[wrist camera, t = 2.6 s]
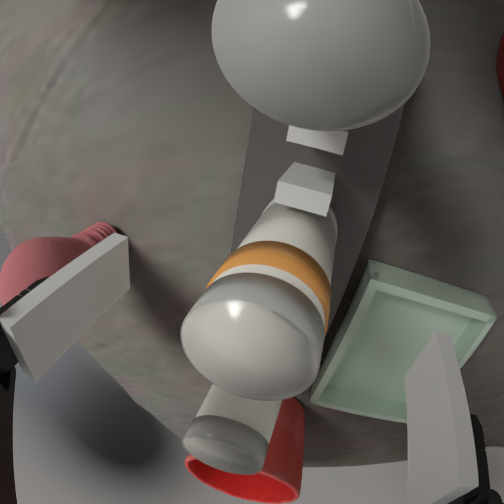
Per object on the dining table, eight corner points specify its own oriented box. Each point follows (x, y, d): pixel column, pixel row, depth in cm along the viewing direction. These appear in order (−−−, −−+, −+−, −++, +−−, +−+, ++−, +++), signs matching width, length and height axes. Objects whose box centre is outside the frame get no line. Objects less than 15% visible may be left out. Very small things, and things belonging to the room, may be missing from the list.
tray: (369, 258, 19) (370, 278, 17) (487, 296, 18) (497, 317, 16) (312, 381, 26) (308, 402, 24) (409, 403, 24) (410, 424, 22)
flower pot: (226, 422, 34) (196, 487, 25) (213, 364, 29) (170, 445, 20) (312, 438, 31) (294, 510, 22) (324, 383, 26) (304, 478, 17)
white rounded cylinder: (301, 30, 13) (231, -63, 4) (383, 49, 13) (439, -28, 3) (286, 104, 16) (197, 109, 6) (367, 125, 15) (405, 159, 5)
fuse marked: (271, 178, 18) (180, 275, 8) (347, 199, 17) (344, 326, 8) (257, 246, 20) (179, 374, 11) (326, 266, 19) (297, 414, 10)
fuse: (247, 299, 22) (181, 425, 13) (307, 318, 22) (270, 456, 12) (239, 341, 25) (182, 455, 15) (292, 358, 24) (254, 480, 14)
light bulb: (157, 231, 23) (45, 325, 13) (133, 287, 27) (47, 376, 17) (94, 182, 23) (-24, 246, 13) (79, 243, 27) (-13, 311, 16)
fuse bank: (279, -2, 13) (253, -37, 9) (415, 29, 12) (442, 3, 7) (220, 344, 27) (196, 389, 22) (306, 371, 26) (294, 422, 21)
